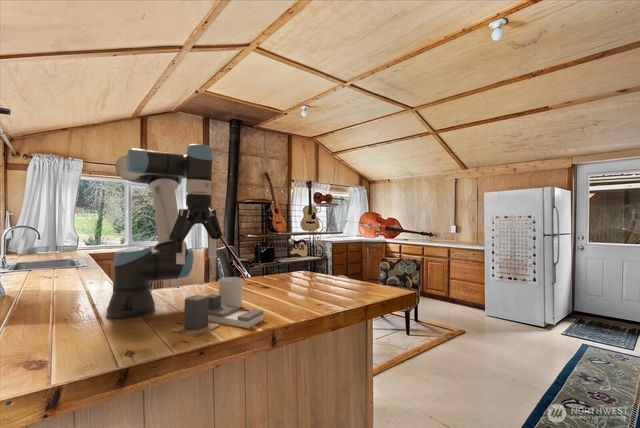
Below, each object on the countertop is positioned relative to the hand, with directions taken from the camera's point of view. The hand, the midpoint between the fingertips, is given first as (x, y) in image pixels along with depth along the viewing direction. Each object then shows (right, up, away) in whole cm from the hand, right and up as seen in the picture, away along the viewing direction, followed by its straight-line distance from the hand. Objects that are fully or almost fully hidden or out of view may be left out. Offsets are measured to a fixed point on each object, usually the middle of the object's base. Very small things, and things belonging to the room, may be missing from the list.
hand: (197, 261), depth 103 cm
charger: (0, -21, -1) cm, 21 cm away
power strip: (+6, -21, +9) cm, 24 cm away
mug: (+4, -22, +23) cm, 32 cm away
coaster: (0, -21, -1) cm, 21 cm away
